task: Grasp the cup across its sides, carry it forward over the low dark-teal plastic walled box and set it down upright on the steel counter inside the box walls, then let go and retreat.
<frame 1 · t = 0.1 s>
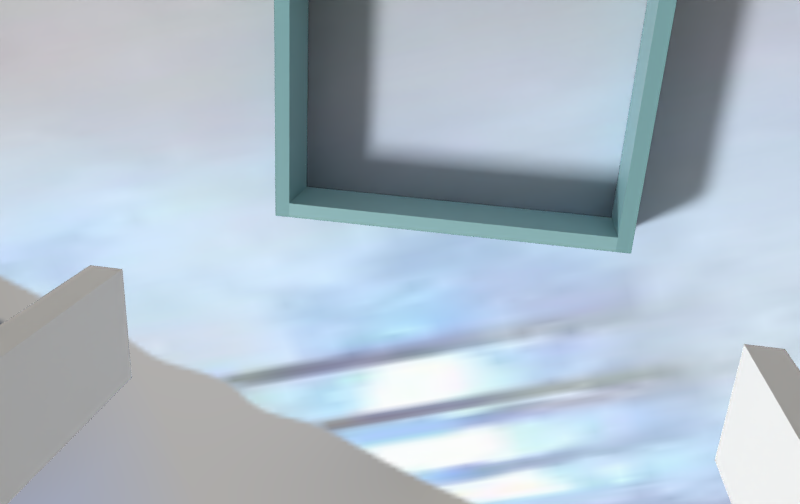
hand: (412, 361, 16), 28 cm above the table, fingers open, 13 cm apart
walled box: (465, 81, 41), on the table
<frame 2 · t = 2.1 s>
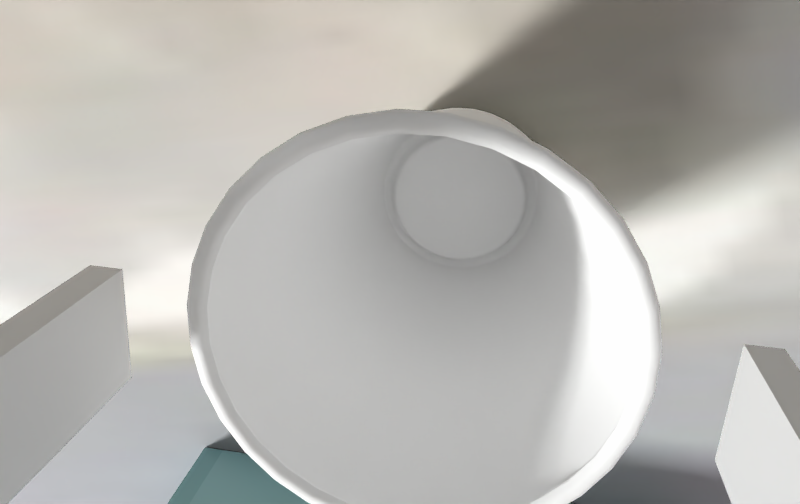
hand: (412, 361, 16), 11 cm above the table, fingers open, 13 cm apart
cup: (460, 193, 25), on the table
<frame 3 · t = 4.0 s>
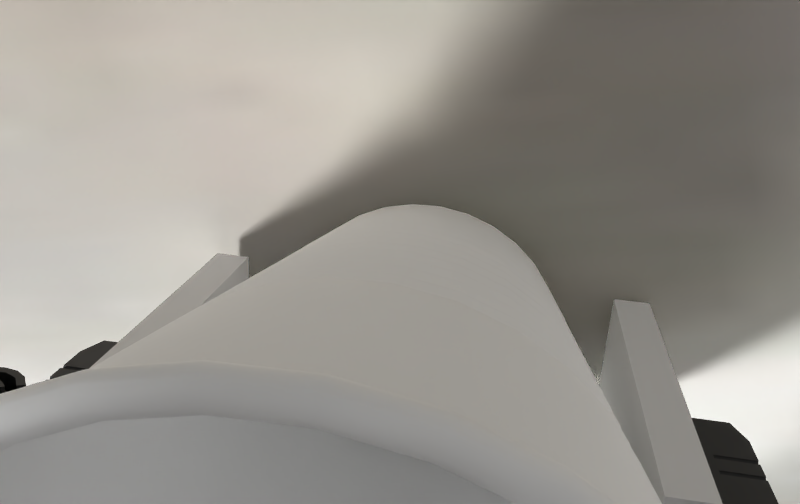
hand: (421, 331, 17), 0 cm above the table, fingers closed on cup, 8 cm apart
cup: (423, 321, 17), on the table, touching gripper
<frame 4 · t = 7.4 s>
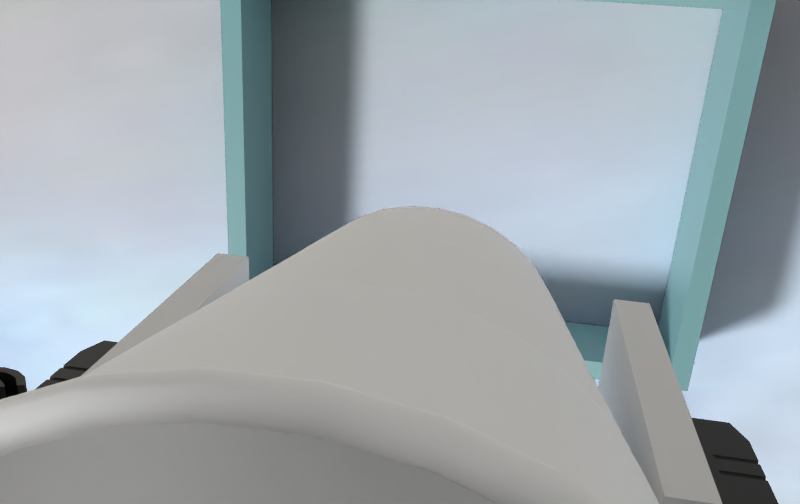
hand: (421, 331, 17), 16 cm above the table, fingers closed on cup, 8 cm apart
walled box: (472, 162, 32), on the table
cup: (423, 323, 17), point 16 cm above the table, touching gripper
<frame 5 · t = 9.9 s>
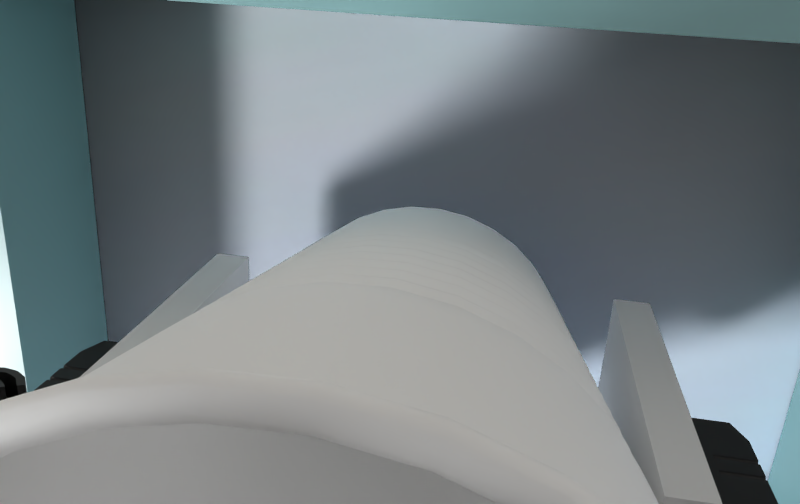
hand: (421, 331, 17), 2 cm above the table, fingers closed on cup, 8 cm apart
walled box: (430, 299, 19), on the table
cup: (423, 323, 17), point 1 cm above the table, touching gripper
when the fingers open (2 cm above the table, at t = 10.8 s): cup moves 4 cm, on the table.
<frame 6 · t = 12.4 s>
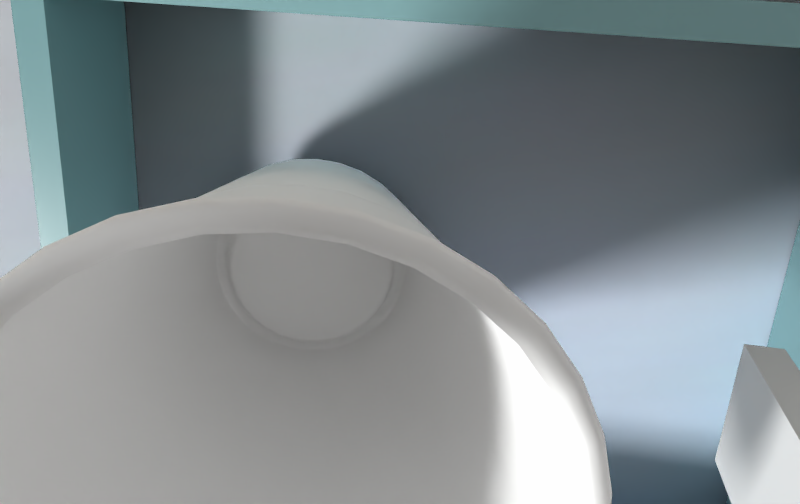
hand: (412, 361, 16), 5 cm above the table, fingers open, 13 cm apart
walled box: (440, 275, 21), on the table
cup: (312, 260, 21), on the table, touching gripper
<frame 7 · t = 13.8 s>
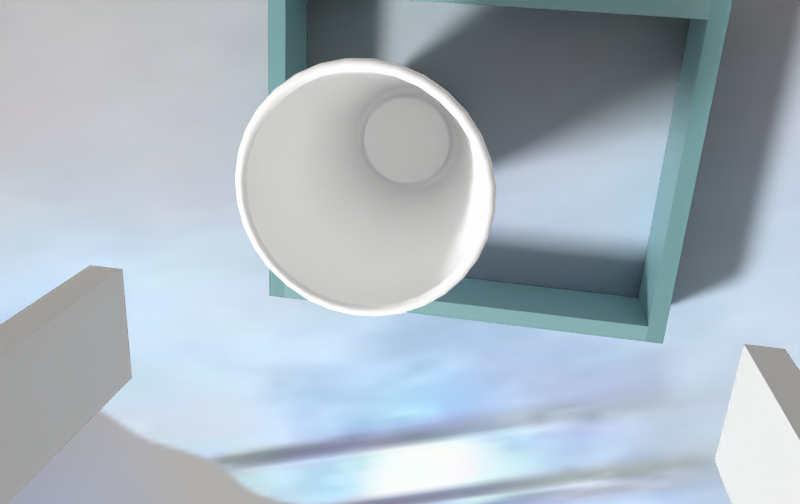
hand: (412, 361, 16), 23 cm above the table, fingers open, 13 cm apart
walled box: (478, 149, 37), on the table
cup: (408, 138, 38), on the table
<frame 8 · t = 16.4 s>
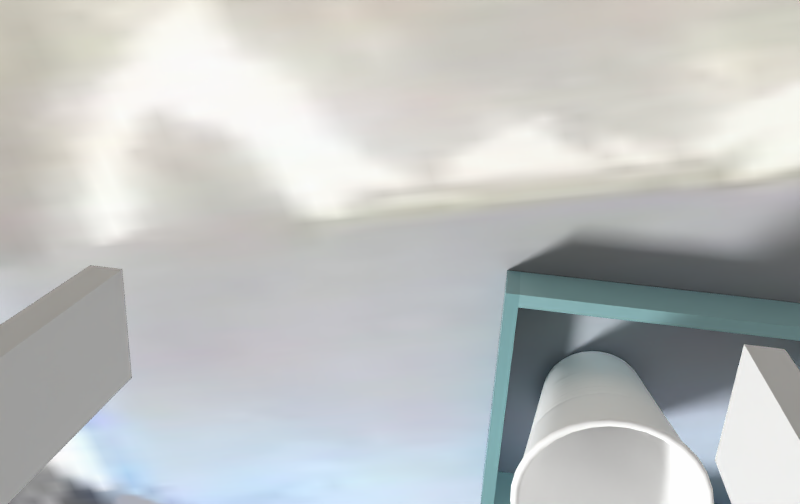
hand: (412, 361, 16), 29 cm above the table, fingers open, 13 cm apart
walled box: (649, 401, 47), on the table
cup: (591, 389, 47), on the table
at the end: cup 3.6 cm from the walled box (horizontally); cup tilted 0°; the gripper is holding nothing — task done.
